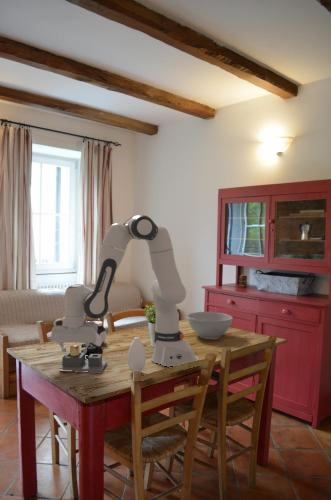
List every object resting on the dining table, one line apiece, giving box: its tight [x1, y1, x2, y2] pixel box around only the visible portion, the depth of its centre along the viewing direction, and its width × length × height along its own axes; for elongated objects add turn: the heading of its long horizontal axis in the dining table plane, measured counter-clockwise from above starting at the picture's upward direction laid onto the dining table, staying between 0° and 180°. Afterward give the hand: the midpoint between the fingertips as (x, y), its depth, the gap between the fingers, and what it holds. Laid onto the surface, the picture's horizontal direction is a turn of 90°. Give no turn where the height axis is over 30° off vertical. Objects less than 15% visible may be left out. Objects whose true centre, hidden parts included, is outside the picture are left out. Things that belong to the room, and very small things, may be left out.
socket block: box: [59, 351, 108, 373], centre depth 173 cm, size 18×12×6 cm, turn 87°
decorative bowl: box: [186, 311, 234, 340], centre depth 230 cm, size 27×27×12 cm
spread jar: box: [91, 320, 107, 347], centre depth 208 cm, size 12×11×12 cm
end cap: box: [80, 343, 104, 359], centre depth 186 cm, size 10×7×7 cm
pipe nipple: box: [69, 344, 80, 357], centre depth 173 cm, size 4×4×8 cm
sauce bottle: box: [127, 331, 147, 372], centre depth 167 cm, size 8×8×18 cm
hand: (74, 351), depth 173 cm, fingers open, 8 cm apart
